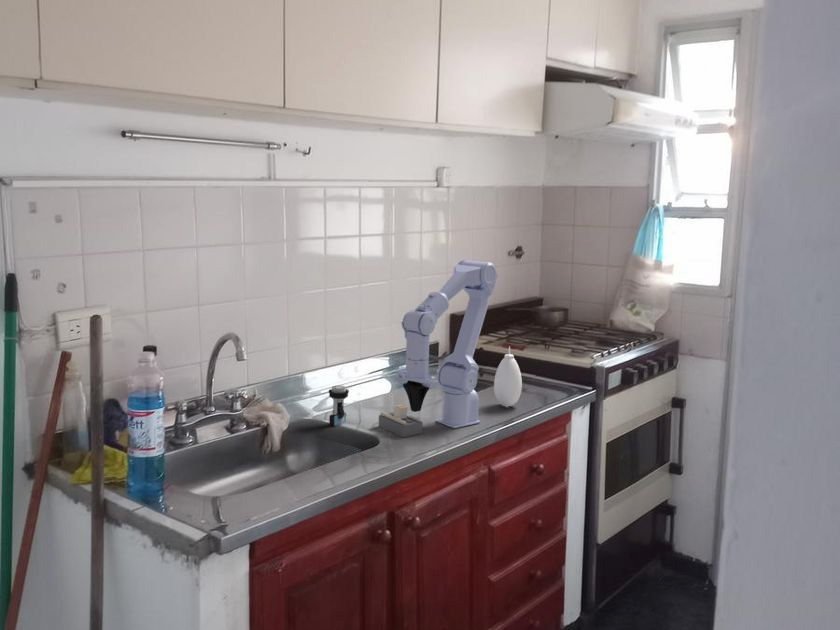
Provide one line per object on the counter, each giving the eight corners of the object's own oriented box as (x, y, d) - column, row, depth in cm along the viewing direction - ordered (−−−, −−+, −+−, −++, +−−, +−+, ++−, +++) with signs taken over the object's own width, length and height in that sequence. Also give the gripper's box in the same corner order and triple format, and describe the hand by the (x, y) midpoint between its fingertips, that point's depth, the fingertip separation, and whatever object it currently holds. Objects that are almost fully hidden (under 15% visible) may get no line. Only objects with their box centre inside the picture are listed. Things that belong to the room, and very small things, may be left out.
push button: (339, 418, 221) (339, 382, 219) (355, 421, 218) (355, 385, 217) (324, 424, 215) (324, 387, 214) (340, 427, 213) (341, 390, 211)
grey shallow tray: (397, 422, 218) (397, 408, 218) (422, 433, 210) (422, 418, 209) (378, 426, 215) (378, 411, 214) (403, 437, 206) (404, 422, 206)
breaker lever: (401, 415, 214) (401, 403, 213) (407, 417, 212) (407, 406, 211) (393, 417, 212) (394, 405, 211) (399, 419, 210) (399, 407, 210)
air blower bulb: (525, 408, 235) (528, 347, 232) (504, 411, 231) (506, 349, 228) (509, 401, 242) (512, 342, 239) (488, 404, 238) (490, 344, 235)
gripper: (387, 354, 207) (386, 406, 209) (422, 365, 196) (421, 420, 198) (409, 351, 211) (408, 402, 214) (445, 362, 200) (443, 415, 202)
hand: (415, 410), depth 206 cm, fingers closed
